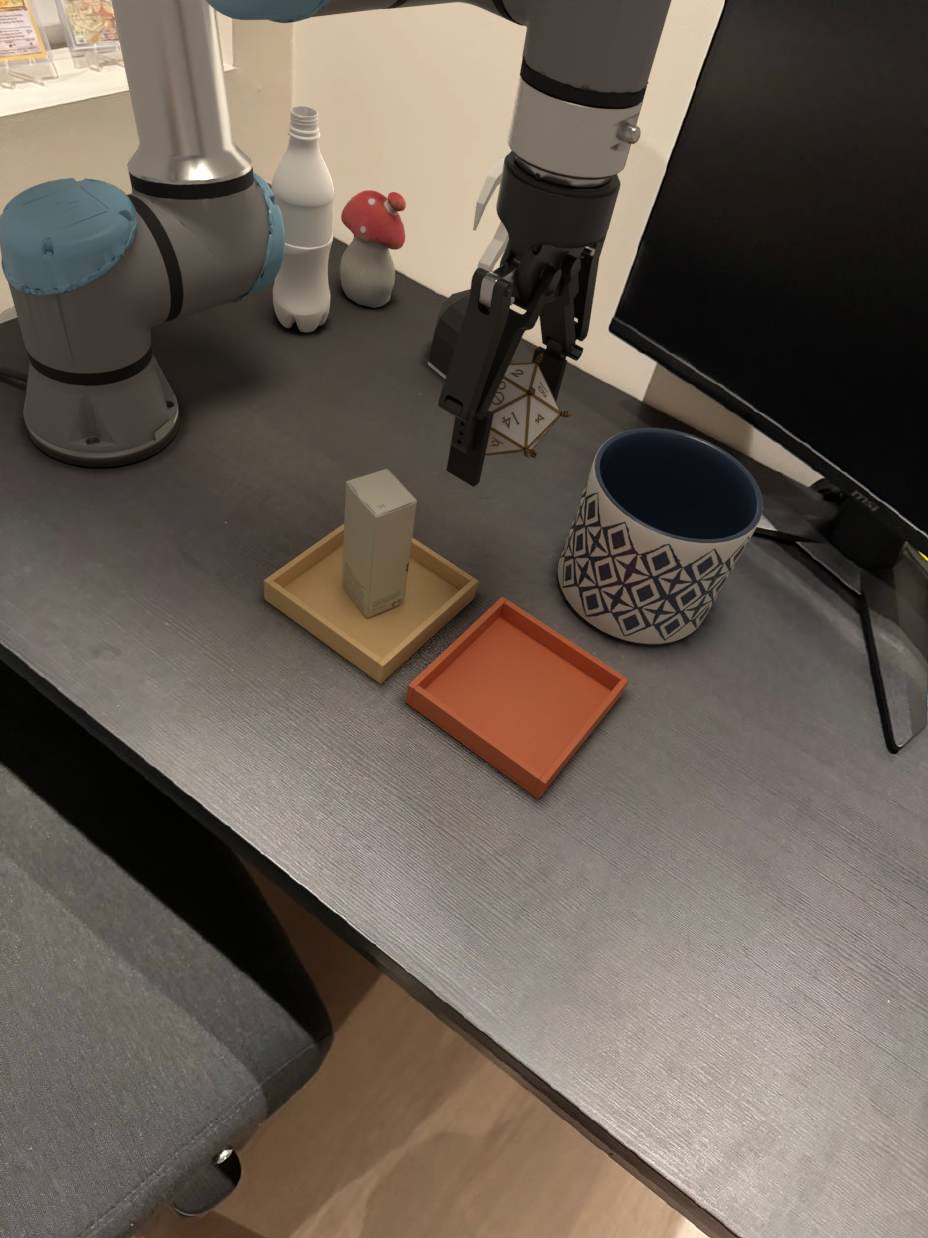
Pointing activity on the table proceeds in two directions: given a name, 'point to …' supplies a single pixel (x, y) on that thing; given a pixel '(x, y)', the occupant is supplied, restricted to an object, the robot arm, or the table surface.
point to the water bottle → (303, 225)
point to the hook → (458, 302)
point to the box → (377, 541)
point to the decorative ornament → (371, 246)
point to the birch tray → (337, 621)
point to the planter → (657, 534)
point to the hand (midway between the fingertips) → (499, 447)
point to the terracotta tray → (517, 694)
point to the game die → (522, 410)
